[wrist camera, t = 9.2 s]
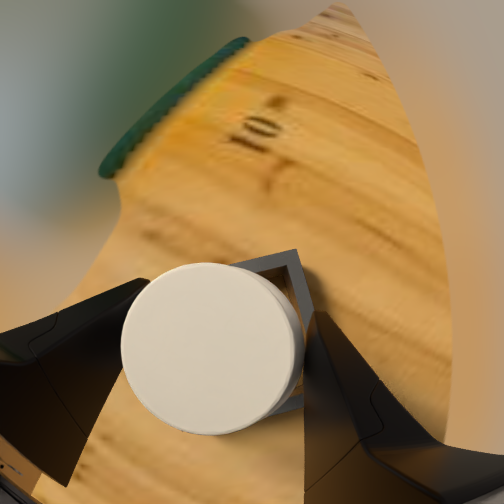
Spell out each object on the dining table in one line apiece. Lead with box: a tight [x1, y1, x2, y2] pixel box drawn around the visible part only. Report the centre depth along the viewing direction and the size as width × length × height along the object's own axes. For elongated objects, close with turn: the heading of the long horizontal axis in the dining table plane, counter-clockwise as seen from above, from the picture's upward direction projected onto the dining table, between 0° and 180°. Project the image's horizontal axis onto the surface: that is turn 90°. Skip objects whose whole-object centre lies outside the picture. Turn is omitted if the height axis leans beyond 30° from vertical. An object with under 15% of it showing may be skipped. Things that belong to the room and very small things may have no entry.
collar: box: [228, 249, 314, 417], centre depth 20 cm, size 11×11×3 cm
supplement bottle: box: [121, 263, 305, 435], centre depth 10 cm, size 5×5×10 cm
